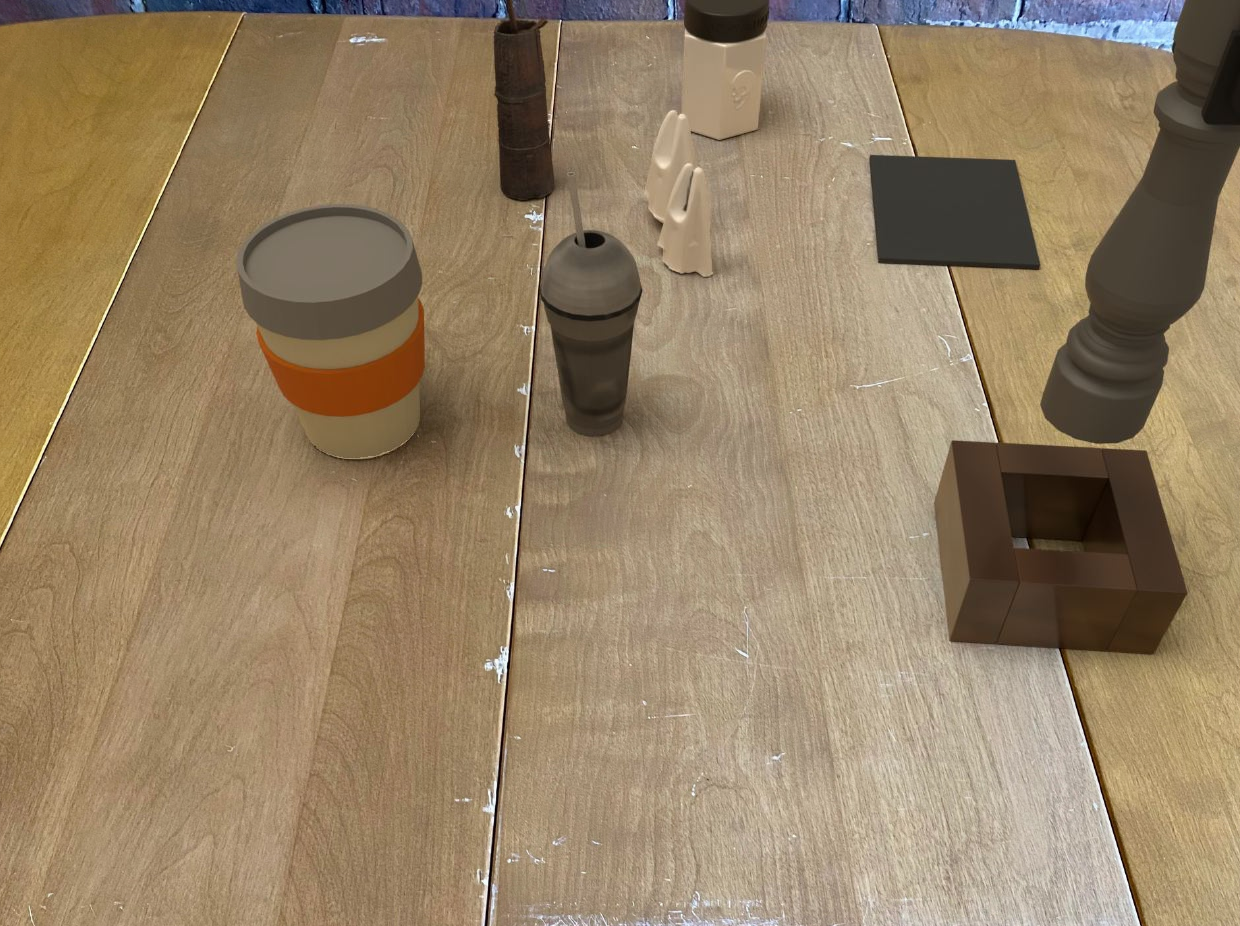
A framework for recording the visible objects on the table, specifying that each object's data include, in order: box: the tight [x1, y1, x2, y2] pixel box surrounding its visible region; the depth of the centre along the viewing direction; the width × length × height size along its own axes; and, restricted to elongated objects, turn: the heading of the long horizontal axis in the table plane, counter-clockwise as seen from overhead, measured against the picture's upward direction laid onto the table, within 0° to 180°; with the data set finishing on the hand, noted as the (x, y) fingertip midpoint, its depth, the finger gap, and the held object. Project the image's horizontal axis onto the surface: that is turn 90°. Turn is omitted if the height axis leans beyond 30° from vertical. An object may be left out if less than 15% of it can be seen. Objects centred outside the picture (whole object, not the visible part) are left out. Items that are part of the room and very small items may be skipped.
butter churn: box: [493, 0, 556, 201], centre depth 103 cm, size 9×10×28 cm
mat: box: [868, 154, 1041, 270], centre depth 109 cm, size 14×18×1 cm
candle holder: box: [1039, 0, 1240, 445], centre depth 62 cm, size 6×6×25 cm
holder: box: [933, 439, 1188, 655], centre depth 78 cm, size 13×13×6 cm
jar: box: [680, 0, 771, 141], centre depth 117 cm, size 9×8×12 cm
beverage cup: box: [539, 171, 643, 437], centre depth 84 cm, size 7×7×20 cm
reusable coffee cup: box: [235, 203, 426, 458], centre depth 86 cm, size 12×13×15 cm
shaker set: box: [642, 109, 714, 278], centre depth 103 cm, size 12×4×11 cm, turn 10°
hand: (1220, 84), depth 56 cm, fingers closed on candle holder, 5 cm apart
